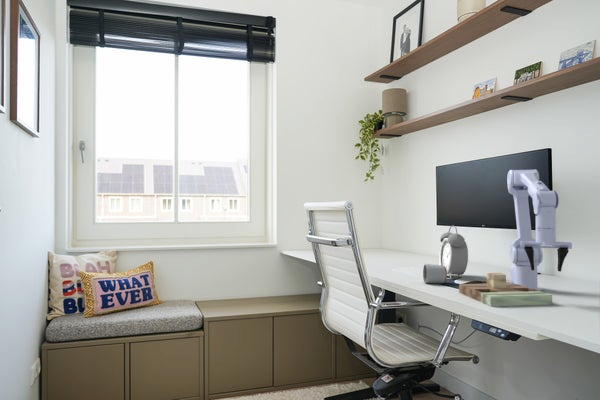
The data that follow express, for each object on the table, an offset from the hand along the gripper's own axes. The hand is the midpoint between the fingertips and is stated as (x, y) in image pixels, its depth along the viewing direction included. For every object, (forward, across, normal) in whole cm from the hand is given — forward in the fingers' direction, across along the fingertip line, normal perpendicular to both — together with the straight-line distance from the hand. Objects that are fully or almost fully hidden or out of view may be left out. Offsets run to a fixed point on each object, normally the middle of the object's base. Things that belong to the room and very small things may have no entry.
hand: (545, 270), depth 149 cm
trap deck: (+10, -13, 0) cm, 16 cm away
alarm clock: (+10, -30, +42) cm, 52 cm away
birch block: (+7, -15, +4) cm, 17 cm away
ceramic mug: (+10, -37, +24) cm, 45 cm away
